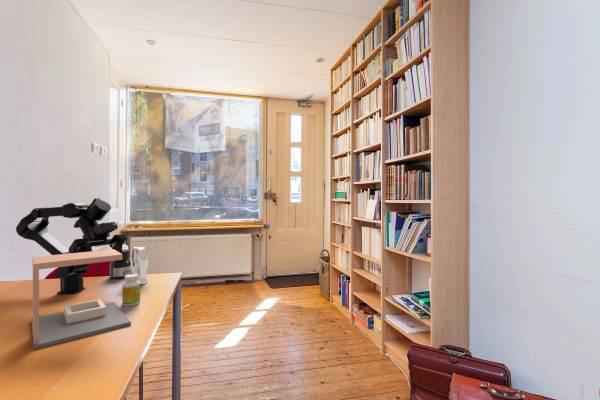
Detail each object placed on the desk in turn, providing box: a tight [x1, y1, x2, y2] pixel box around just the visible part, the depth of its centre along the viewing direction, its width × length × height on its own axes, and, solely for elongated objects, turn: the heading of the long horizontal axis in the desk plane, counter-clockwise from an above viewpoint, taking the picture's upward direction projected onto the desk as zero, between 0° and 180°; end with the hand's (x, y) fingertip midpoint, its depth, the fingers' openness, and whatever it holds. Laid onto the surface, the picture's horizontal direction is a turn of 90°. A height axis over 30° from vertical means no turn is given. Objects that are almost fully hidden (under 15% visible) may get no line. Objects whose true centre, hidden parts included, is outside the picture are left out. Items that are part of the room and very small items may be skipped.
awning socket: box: [31, 248, 132, 350], centre depth 88 cm, size 22×21×20 cm
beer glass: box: [129, 246, 150, 285], centre depth 129 cm, size 7×7×15 cm
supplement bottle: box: [121, 274, 141, 307], centre depth 104 cm, size 5×5×10 cm
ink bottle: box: [109, 248, 132, 280], centre depth 139 cm, size 10×9×12 cm
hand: (110, 261), depth 110 cm, fingers open, 9 cm apart
